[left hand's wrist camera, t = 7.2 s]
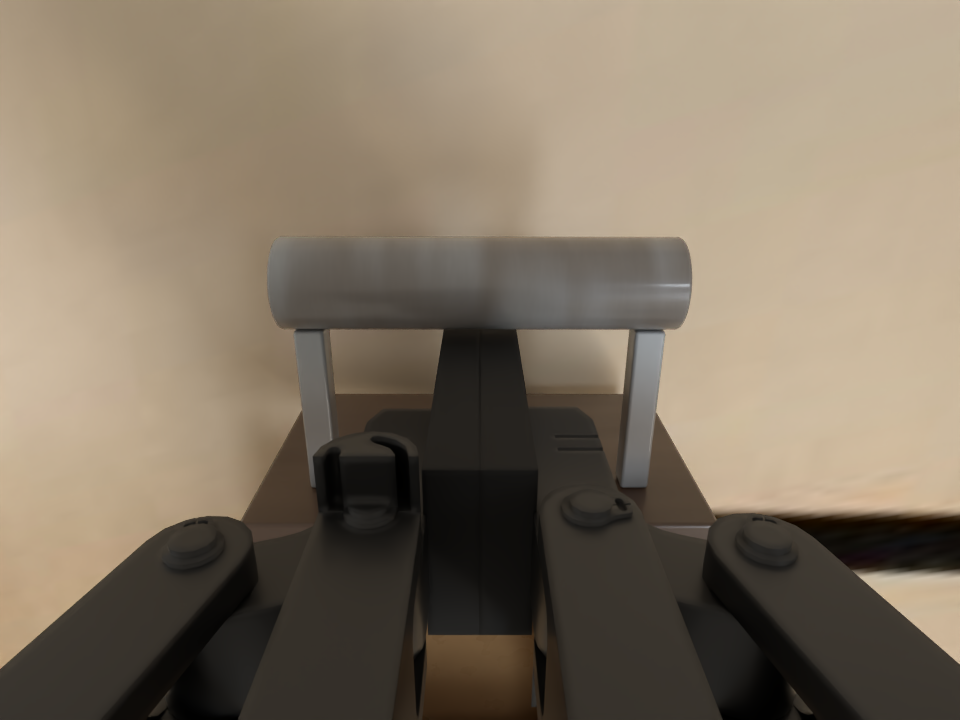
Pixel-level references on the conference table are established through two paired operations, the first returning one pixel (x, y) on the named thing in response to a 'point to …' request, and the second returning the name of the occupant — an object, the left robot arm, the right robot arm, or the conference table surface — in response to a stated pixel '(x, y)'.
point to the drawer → (526, 305)
